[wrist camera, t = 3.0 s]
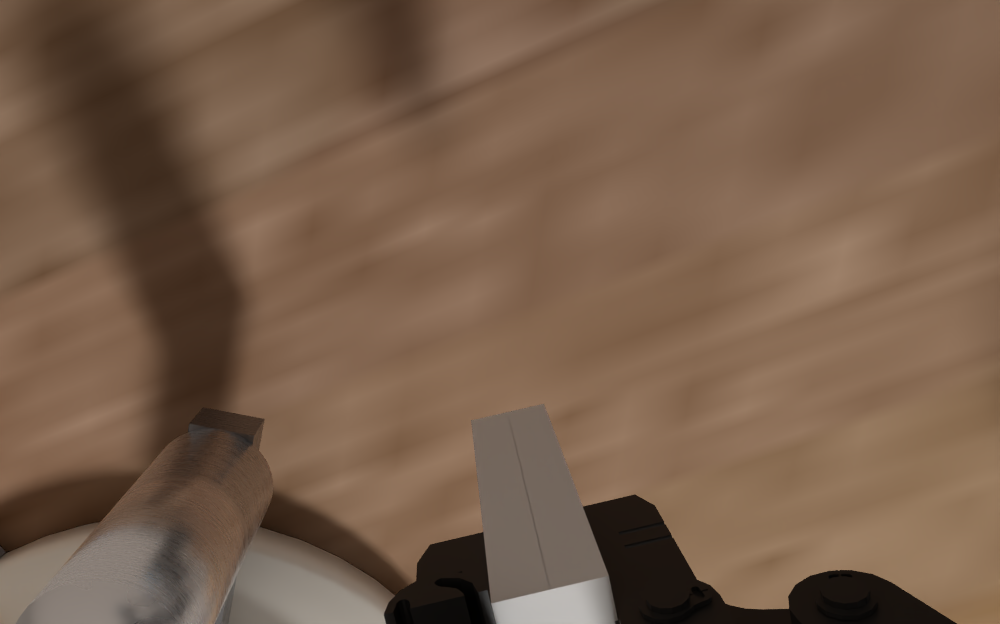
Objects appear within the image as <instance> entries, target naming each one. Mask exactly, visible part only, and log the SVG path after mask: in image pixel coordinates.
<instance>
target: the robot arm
mask: <svg viewBox="0 0 1000 624" xmlns="http://www.w3.org/2000/svg"><path fill="white" fill-rule="evenodd" d="M471 423H472V432H473V441H474V450H475V459H476V468H477V478H478V487H479V496H480V505H481V514H482V523H483V532H482V533H478V534H474V535H469V536H465V537H461V538H456V539H452V540H448V541H444V542H439V543H435V544H431V545H430V546H429V547H428V549H427V550H426V551H425V553H424V554H423V556H422V557H421V559H420V560H419V562H418V563H417V579H416V582H414V583H412V584H411V585H409V586H407V587H406V588H404V589H402V590H400V591H399V592H398V593H397V594H396V595H395V596H394V597H393V598H392V599H391V600H390V601H389V603H388V605H387V607H386V610H385V612H384V618H385V622H386V624H957V623H955V622H953V621H952V620H950V619H949V618H947V617H945V616H944V615H942V614H941V613H939V612H937V611H936V610H934V609H933V608H931V607H930V606H928V605H926V604H925V603H923V602H922V601H920V600H918V599H917V598H915V597H914V596H912V595H910V594H909V593H907V592H906V591H904V590H902V589H901V588H899V587H898V586H896V585H895V584H893V583H891V582H889V581H887V580H885V579H882V578H880V577H878V576H876V575H873V574H869V573H863V572H858V571H852V570H840V571H837V570H836V571H827V572H823V573H820V574H816V575H812V576H809V577H808V578H806V579H804V580H803V581H801V582H799V583H798V584H796V585H795V587H794V588H793V590H792V591H791V593H790V595H789V596H788V598H789V609H766V610H761V609H744V608H740V607H735V606H730V605H727V604H725V603H724V601H723V599H722V598H721V596H720V594H719V593H717V592H716V591H715V590H714V589H713V588H712V587H711V586H710V585H708V584H706V583H703V582H701V581H698V580H697V579H696V577H695V575H694V574H693V572H692V570H691V568H690V567H689V565H688V563H687V561H686V560H685V558H684V556H683V554H682V553H681V551H680V549H679V547H678V546H677V544H676V542H675V540H674V539H673V538H672V536H671V533H670V531H669V530H668V528H667V526H666V525H665V524H664V521H663V519H662V517H661V516H660V514H659V512H658V510H657V509H656V507H655V505H653V504H651V503H649V502H647V501H646V500H644V499H642V498H640V497H638V496H637V495H631V496H627V497H623V498H618V499H614V500H610V501H605V502H601V503H597V504H592V505H588V506H584V507H583V506H582V504H581V501H580V498H579V496H578V493H577V490H576V488H575V485H574V482H573V480H572V477H571V474H570V472H569V469H568V466H567V464H566V461H565V458H564V456H563V453H562V451H561V448H560V445H559V443H558V440H557V437H556V435H555V432H554V429H553V427H552V424H551V421H550V419H549V416H548V413H547V411H546V408H545V406H544V404H541V405H537V406H532V407H528V408H524V409H519V410H515V411H511V412H506V413H502V414H498V415H493V416H489V417H485V418H480V419H476V420H471Z"/></svg>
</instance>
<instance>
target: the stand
mask: <svg viewBox="0 0 1000 624" xmlns="http://www.w3.org/2000/svg"><path fill="white" fill-rule="evenodd" d="M99 523H100V522H98V523H92V524H86V525H82V526H79V527H76V528H72V529H69V530H65V531H62V532H58V533H55V534H52V535H48V536H45V537H42V538H40V539H38V540H36V541H33V542H31V543H29V544H26V545H24V546H22V547H19V548H17V549H15V550H13V551H10V552H8V553H6V554H4V553H5V551H4V550H3V549H2V547H1V546H0V624H16V622H17V620H18V619H19V617H20V616H21V614H22V613H23V612H24V610H25V609H26V608H27V607H28V606H29V604H30V603H31V602H32V601H33V600H34V599H35V597H36V596H37V595H38V594H39V593H40V592H41V591H42V589H43V588H44V587H45V586H46V585H47V584H48V582H49V581H50V580H51V579H52V578H53V577H54V575H55V574H56V573H57V572H58V571H59V570H60V568H61V567H62V566H63V565H64V564H65V563H66V562H67V560H68V559H69V558H70V557H71V556H72V555H73V553H74V552H75V551H76V550H77V549H78V548H79V546H80V545H81V544H82V543H83V542H84V541H85V540H86V538H87V537H88V536H89V535H90V534H91V533H92V531H93V530H94V529H95V528H96V527H97V526H98V524H99ZM3 554H4V555H3ZM394 596H395V595H394V594H393V593H391V592H390V591H389V590H388V589H386V588H385V587H384V586H383V585H381V584H380V583H379V582H378V581H377V580H375V579H374V578H372V577H370V576H369V575H367V574H366V573H364V572H362V571H361V570H359V569H357V568H356V567H354V566H353V565H351V564H349V563H348V562H346V561H345V560H343V559H341V558H339V557H337V556H335V555H333V554H331V553H329V552H326V551H324V550H322V549H320V548H318V547H315V546H313V545H311V544H309V543H307V542H304V541H302V540H299V539H296V538H293V537H290V536H287V535H284V534H281V533H277V532H274V531H271V530H268V529H265V528H262V527H259V529H258V531H257V533H256V535H255V538H254V540H253V542H252V544H251V546H250V548H249V551H248V553H247V555H246V557H245V559H244V561H243V563H242V566H241V568H240V570H239V572H238V574H237V578H236V583H235V589H234V595H233V600H232V606H231V612H230V617H229V623H228V624H386V622H385V618H384V612H385V610H386V607H387V605H388V603H389V601H390V600H391V599H392V598H393V597H394Z"/></svg>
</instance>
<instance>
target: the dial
mask: <svg viewBox="0 0 1000 624" xmlns="http://www.w3.org/2000/svg"><path fill="white" fill-rule="evenodd" d="M263 424H264V419H261V418H256V417H251V416H246V415H240V414H235V413H230V412H224V411H219V410H214V409H208V408H202V409H201V411H200V412H199V413H198V414H197V415H196V416H195V418H194V419H193V420H192V421H191V422H190V424H189V429H188V433H185V434H183V435H181V436H179V437H177V438H176V439H174V440H173V441H172V442H170V443H169V444H168V445H167V446H166V447H165V448H164V449H163V450H162V452H161V453H160V454H159V455H158V456H157V457H156V458H155V460H154V461H153V462H152V463H151V464H150V465H149V467H148V468H147V469H146V470H145V471H144V472H143V474H142V475H141V476H140V477H139V478H138V479H137V480H136V482H135V483H134V484H133V485H132V486H131V487H130V489H129V490H128V491H127V492H126V493H125V494H124V496H123V497H122V498H121V499H120V500H119V501H118V502H117V504H116V505H115V506H114V507H113V508H112V509H111V511H110V512H109V513H108V514H107V515H106V516H105V518H104V519H103V520H102V521H101V522H100V523H99V524H98V526H97V527H96V528H95V529H94V530H93V531H92V533H91V534H90V535H89V536H88V537H87V538H86V540H85V541H84V542H83V543H82V544H81V545H80V546H79V548H78V549H77V550H76V551H75V552H74V553H73V555H72V556H71V557H70V558H69V559H68V560H67V562H66V563H65V564H64V565H63V566H62V567H61V568H60V570H59V571H58V572H57V573H56V574H55V575H54V577H53V578H52V579H51V580H50V581H49V582H48V584H47V585H46V586H45V587H44V588H43V589H42V591H41V592H40V593H39V594H38V595H37V596H36V597H35V599H34V600H33V601H32V602H31V603H30V604H29V606H28V607H27V608H26V609H25V610H24V612H23V613H22V614H21V616H20V617H19V619H18V620H17V622H16V624H228V623H229V617H230V612H231V606H232V600H233V595H234V589H235V583H236V578H237V574H238V572H239V570H240V568H241V566H242V563H243V561H244V559H245V557H246V555H247V553H248V551H249V548H250V546H251V544H252V542H253V540H254V538H255V535H256V533H257V531H258V529H259V527H260V525H261V522H262V520H263V518H264V516H265V514H266V512H267V509H268V507H269V505H270V502H271V499H272V494H273V479H272V474H271V471H270V468H269V465H268V463H267V461H266V460H265V458H264V457H263V455H262V454H261V452H260V451H259V447H260V441H261V436H262V430H263Z"/></svg>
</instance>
